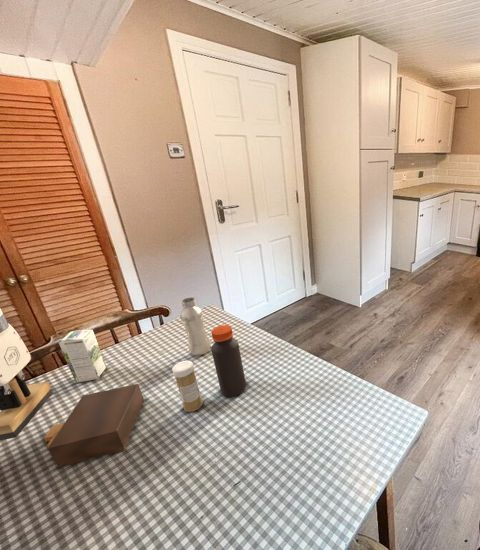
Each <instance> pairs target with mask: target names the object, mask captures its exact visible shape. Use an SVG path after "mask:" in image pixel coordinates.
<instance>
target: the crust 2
mask: <svg viewBox="0 0 480 550" xmlns="http://www.w3.org/2000/svg"><path fill="white" fill-rule="evenodd" d="M58 432H59V431H56V432H55V434H54V435H53V437H52V438H51V440H50V441H48V443H47V445H46V448H47V449H48V447H49V446H50V444H51V443H52V441H53V440H54V438H55V437H56V435H57V434H58Z"/></svg>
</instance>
